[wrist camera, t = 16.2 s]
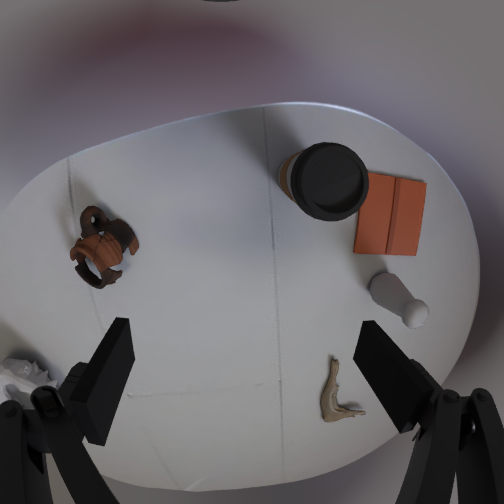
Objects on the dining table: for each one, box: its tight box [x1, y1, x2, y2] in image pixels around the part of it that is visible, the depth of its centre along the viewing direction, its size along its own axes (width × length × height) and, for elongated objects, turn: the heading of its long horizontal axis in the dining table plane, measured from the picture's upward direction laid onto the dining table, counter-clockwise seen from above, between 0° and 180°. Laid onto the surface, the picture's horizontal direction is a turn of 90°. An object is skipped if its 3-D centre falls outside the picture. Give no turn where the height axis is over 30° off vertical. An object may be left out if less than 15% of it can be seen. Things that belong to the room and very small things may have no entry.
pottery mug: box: [70, 206, 139, 289], centre depth 39 cm, size 12×10×8 cm
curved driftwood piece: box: [321, 359, 366, 422], centre depth 54 cm, size 9×20×2 cm, turn 30°
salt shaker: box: [369, 273, 429, 329], centre depth 42 cm, size 6×6×13 cm
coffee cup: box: [278, 142, 369, 221], centre depth 34 cm, size 8×8×15 cm
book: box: [353, 172, 427, 256], centre depth 44 cm, size 13×13×1 cm
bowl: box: [0, 357, 59, 409], centre depth 43 cm, size 21×20×10 cm
